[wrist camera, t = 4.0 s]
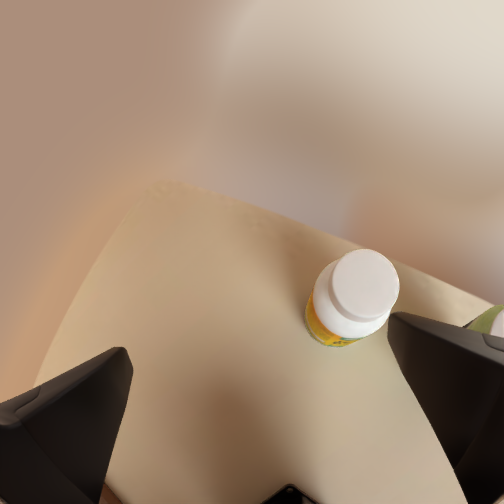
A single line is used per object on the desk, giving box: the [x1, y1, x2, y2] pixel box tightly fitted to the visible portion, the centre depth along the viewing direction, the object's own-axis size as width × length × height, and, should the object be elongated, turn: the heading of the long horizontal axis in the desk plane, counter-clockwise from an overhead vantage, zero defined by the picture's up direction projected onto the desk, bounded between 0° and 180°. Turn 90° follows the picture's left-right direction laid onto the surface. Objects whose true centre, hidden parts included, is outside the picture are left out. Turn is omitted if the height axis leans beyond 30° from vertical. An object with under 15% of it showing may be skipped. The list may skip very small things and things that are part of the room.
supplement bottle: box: [304, 249, 399, 348], centre depth 19 cm, size 5×5×10 cm
